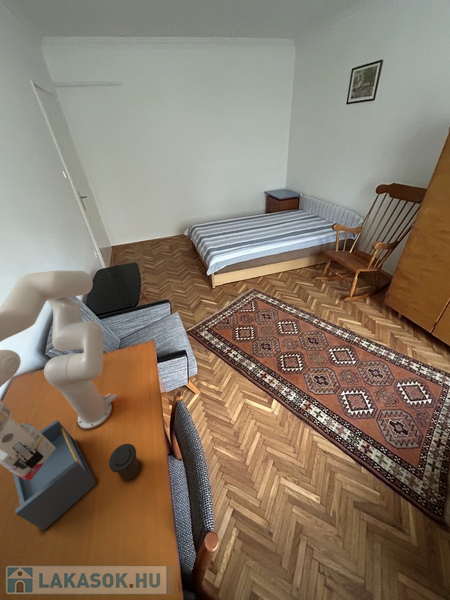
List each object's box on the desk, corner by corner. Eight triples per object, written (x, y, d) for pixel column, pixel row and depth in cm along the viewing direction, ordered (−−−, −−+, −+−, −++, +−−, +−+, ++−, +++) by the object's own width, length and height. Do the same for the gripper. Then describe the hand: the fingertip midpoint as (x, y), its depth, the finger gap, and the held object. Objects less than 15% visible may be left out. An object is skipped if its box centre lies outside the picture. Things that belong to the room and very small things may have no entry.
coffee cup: (119, 490, 74) (107, 476, 69) (117, 463, 81) (107, 448, 75) (145, 476, 77) (136, 462, 71) (142, 452, 83) (133, 437, 77)
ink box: (29, 482, 62) (2, 462, 56) (16, 476, 64) (-13, 456, 57) (57, 447, 69) (35, 426, 63) (44, 442, 71) (22, 421, 64)
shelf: (75, 440, 88) (57, 419, 81) (96, 483, 76) (77, 463, 69) (28, 475, 80) (3, 455, 72) (43, 530, 68) (15, 513, 60)
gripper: (24, 422, 53) (62, 458, 63) (-9, 391, 61) (30, 428, 71) (-16, 455, 48) (32, 489, 58) (-47, 417, 56) (1, 453, 66)
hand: (30, 455), depth 65 cm, fingers closed on ink box, 5 cm apart
